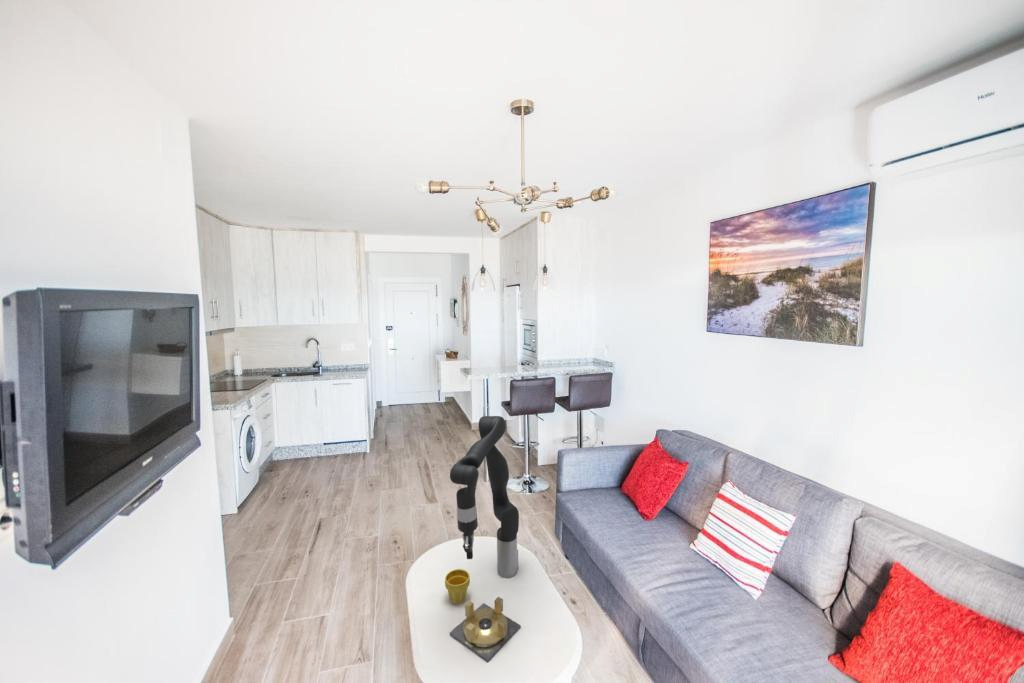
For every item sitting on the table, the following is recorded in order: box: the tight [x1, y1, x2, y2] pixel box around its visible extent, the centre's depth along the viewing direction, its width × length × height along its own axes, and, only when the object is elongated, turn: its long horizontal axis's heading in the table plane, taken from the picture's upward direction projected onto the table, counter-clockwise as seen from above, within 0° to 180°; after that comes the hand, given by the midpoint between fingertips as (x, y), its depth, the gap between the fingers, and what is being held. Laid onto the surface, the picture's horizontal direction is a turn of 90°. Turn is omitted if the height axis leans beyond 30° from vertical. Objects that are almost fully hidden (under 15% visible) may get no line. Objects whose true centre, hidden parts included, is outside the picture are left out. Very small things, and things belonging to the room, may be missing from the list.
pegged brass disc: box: [463, 596, 508, 647], centre depth 157 cm, size 19×19×6 cm
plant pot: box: [444, 568, 471, 605], centre depth 174 cm, size 10×10×10 cm
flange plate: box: [449, 602, 522, 663], centre depth 157 cm, size 19×19×1 cm
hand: (469, 557), depth 158 cm, fingers closed
